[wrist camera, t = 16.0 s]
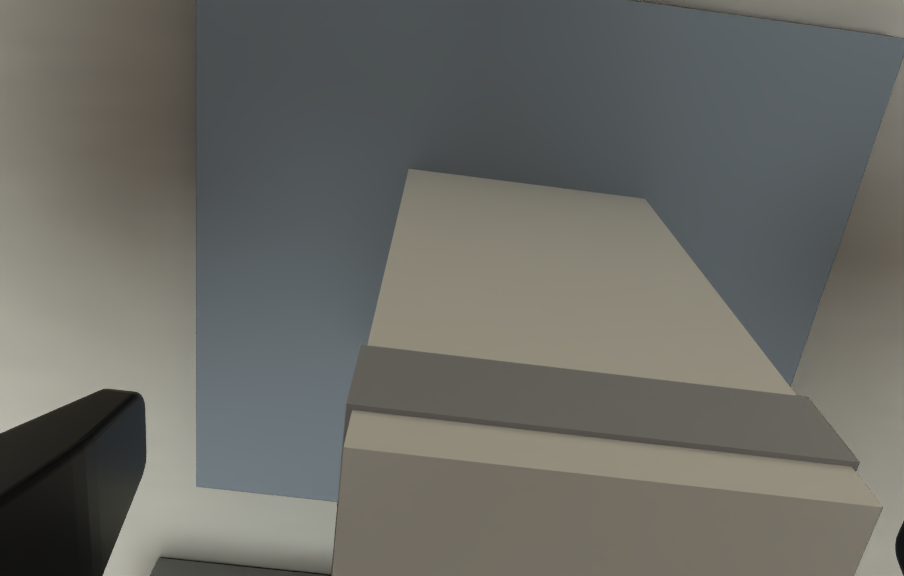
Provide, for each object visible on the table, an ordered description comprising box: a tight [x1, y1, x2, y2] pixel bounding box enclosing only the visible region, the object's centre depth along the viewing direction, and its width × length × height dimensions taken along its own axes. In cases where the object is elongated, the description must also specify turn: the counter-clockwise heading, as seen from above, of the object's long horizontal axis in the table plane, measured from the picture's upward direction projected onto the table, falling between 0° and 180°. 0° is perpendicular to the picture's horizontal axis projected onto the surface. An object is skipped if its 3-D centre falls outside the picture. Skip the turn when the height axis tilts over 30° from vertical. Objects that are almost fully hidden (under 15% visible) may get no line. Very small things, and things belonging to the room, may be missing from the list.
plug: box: [331, 169, 883, 576], centre depth 10 cm, size 4×4×8 cm
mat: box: [196, 0, 904, 502], centre depth 14 cm, size 11×10×1 cm
